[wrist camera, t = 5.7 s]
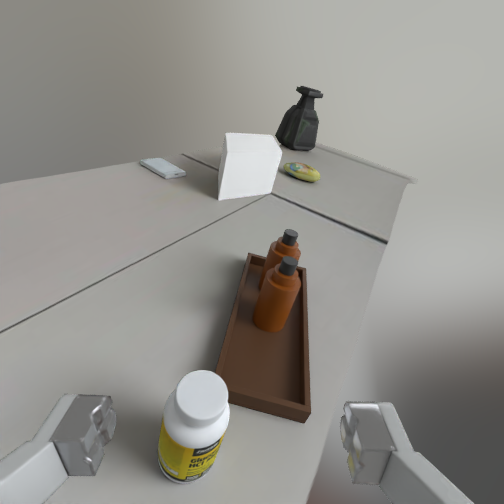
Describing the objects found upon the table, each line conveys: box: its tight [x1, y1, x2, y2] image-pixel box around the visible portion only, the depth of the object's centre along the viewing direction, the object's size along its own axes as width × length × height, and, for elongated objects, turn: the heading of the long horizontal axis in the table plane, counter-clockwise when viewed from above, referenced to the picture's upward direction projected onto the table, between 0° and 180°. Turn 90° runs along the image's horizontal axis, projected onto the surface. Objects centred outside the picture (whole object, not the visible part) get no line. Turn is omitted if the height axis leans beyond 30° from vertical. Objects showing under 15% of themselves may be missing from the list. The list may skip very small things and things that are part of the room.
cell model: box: [284, 163, 320, 182], centre depth 124 cm, size 11×8×15 cm
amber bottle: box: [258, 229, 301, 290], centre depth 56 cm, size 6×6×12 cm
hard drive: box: [140, 158, 186, 179], centre depth 97 cm, size 2×8×12 cm
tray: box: [215, 253, 311, 423], centre depth 51 cm, size 32×13×2 cm, turn 172°
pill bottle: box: [158, 370, 230, 484], centre depth 29 cm, size 6×6×11 cm
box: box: [218, 133, 282, 200], centre depth 100 cm, size 20×40×14 cm, turn 159°
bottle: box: [275, 86, 323, 151], centre depth 165 cm, size 18×16×30 cm
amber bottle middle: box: [252, 256, 301, 332], centre depth 48 cm, size 6×6×12 cm
